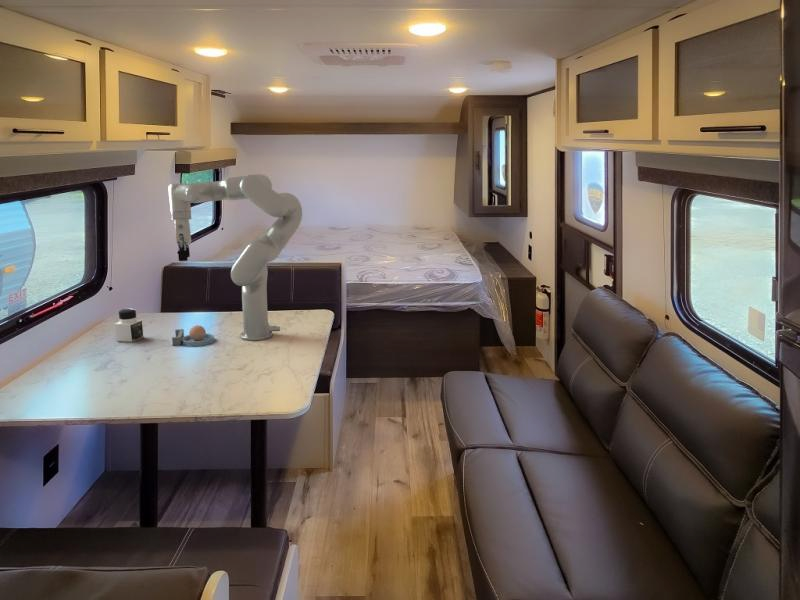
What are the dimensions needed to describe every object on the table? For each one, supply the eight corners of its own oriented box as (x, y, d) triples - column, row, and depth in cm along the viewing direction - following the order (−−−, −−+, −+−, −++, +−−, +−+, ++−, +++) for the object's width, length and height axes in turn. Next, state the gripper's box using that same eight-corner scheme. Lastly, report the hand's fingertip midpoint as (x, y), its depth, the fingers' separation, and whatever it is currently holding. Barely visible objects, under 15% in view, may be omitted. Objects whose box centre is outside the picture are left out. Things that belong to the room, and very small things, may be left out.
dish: (215, 336, 233) (214, 332, 233) (213, 345, 222) (213, 340, 222) (183, 338, 230) (182, 334, 230) (180, 347, 219) (179, 343, 219)
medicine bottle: (132, 342, 225) (129, 312, 222) (116, 341, 226) (112, 311, 224) (143, 337, 232) (141, 307, 229) (127, 336, 233) (124, 306, 230)
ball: (206, 338, 230) (205, 323, 228) (205, 342, 224) (204, 326, 223) (190, 339, 228) (189, 324, 227) (189, 343, 222) (187, 327, 221)
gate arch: (184, 336, 233) (183, 329, 233) (181, 345, 222) (180, 337, 221) (176, 336, 232) (175, 329, 232) (172, 345, 221) (172, 338, 220)
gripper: (189, 217, 221) (192, 262, 224) (193, 213, 237) (196, 255, 241) (168, 217, 219) (171, 262, 222) (173, 214, 235) (176, 256, 239)
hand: (184, 259), depth 232 cm, fingers open, 9 cm apart
